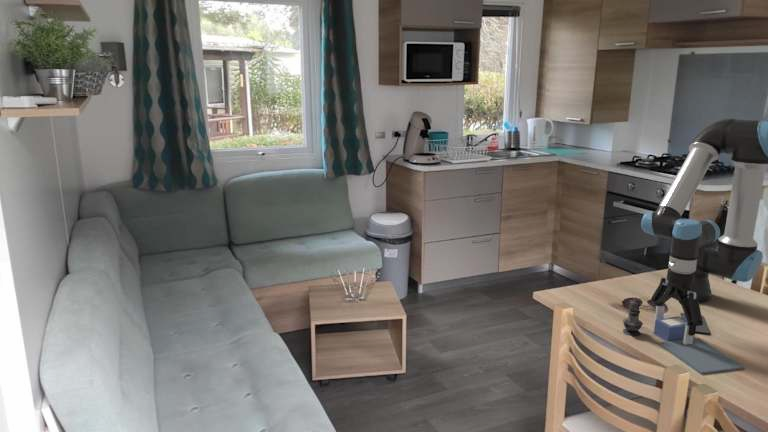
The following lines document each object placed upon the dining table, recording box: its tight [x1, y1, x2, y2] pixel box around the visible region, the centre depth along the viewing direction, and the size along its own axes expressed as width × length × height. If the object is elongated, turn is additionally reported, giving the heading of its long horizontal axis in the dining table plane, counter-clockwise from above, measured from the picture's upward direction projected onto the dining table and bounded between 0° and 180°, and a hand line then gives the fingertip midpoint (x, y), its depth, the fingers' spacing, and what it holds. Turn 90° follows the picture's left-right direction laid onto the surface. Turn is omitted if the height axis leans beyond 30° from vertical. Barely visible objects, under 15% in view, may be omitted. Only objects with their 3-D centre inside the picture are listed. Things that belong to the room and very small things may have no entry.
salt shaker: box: [622, 297, 644, 337], centre depth 185 cm, size 6×6×12 cm
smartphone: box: [680, 312, 711, 336], centre depth 192 cm, size 7×1×15 cm
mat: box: [658, 337, 745, 375], centre depth 171 cm, size 14×18×1 cm
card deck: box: [653, 316, 688, 342], centre depth 183 cm, size 9×6×5 cm, turn 107°
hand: (672, 334), depth 183 cm, fingers open, 13 cm apart
